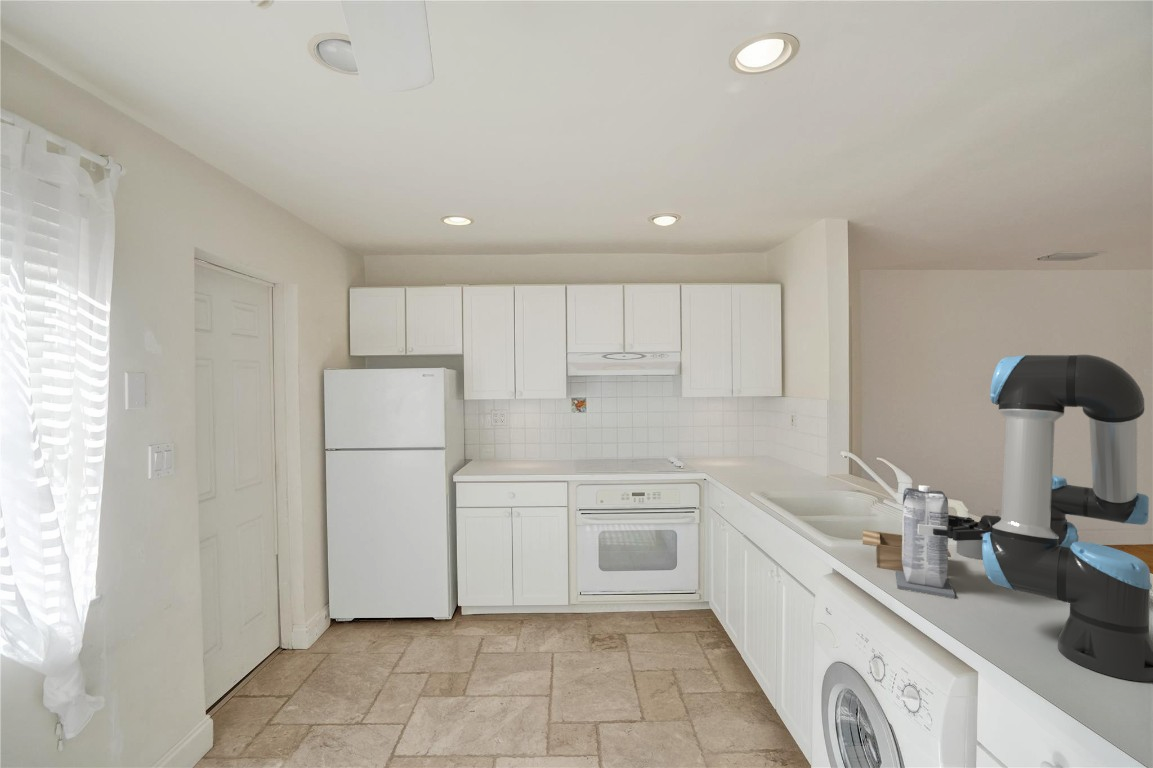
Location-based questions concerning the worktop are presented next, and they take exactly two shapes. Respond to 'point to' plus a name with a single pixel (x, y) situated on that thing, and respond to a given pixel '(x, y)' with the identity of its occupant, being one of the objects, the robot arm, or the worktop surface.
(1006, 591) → the worktop surface
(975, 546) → the coffee mug
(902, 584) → the mat
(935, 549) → the juice carton
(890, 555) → the crate
